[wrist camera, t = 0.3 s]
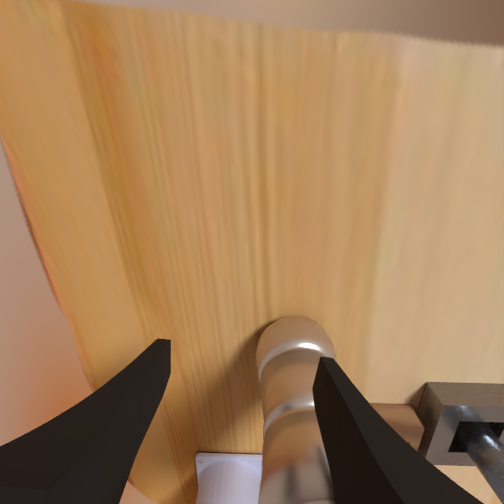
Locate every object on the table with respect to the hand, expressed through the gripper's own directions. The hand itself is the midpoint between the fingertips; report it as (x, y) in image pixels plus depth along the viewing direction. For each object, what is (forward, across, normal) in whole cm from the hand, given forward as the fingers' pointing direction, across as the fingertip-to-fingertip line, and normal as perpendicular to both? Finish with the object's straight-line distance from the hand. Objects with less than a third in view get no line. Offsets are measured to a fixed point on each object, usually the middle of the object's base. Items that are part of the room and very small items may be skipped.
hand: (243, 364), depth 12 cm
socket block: (+10, -23, +13) cm, 28 cm away
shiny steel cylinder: (+10, -23, +13) cm, 28 cm away
